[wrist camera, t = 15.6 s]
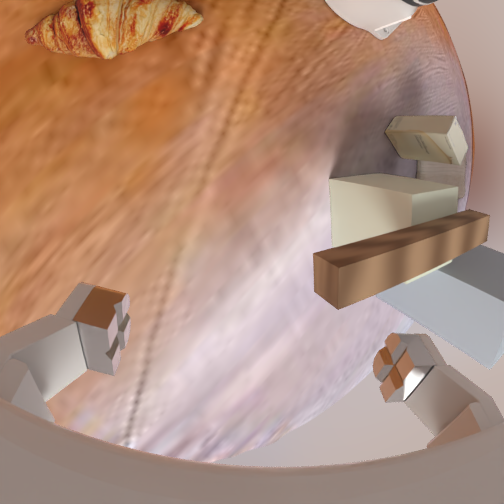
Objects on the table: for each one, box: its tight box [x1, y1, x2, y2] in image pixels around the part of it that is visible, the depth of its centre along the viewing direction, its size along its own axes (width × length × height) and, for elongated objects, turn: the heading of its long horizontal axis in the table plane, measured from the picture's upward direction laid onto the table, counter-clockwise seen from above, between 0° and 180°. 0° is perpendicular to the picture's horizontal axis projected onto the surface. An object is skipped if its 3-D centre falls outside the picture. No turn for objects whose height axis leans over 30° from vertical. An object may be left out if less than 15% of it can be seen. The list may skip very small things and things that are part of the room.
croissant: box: [25, 0, 203, 59], centre depth 21 cm, size 21×10×8 cm, turn 92°
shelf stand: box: [376, 245, 504, 370], centre depth 39 cm, size 16×10×26 cm, turn 97°
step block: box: [329, 173, 458, 284], centre depth 36 cm, size 10×10×15 cm
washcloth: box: [416, 155, 466, 199], centre depth 47 cm, size 12×18×3 cm, turn 95°
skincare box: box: [385, 116, 468, 166], centre depth 37 cm, size 6×4×12 cm
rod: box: [313, 209, 490, 310], centre depth 27 cm, size 26×4×4 cm, turn 97°
